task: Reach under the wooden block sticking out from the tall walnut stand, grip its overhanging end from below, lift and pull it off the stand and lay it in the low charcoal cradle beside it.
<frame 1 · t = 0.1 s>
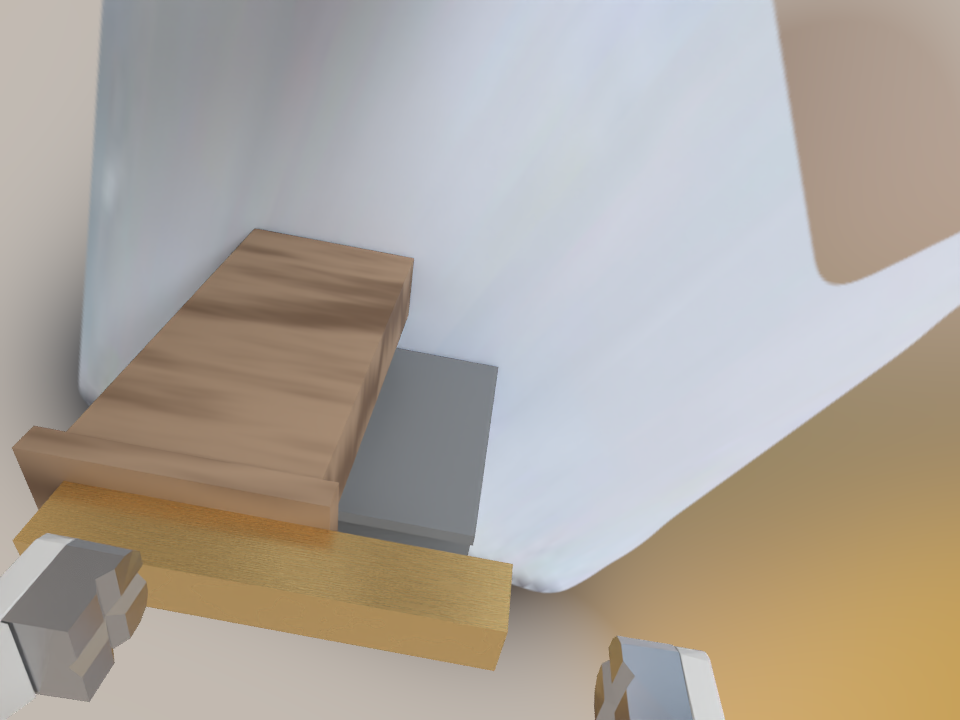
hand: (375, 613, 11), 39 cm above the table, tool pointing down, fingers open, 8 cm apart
cradle: (417, 386, 58), on the table
stand: (334, 273, 52), on the table
wooden block: (289, 544, 31), point 26 cm above the table, touching stand
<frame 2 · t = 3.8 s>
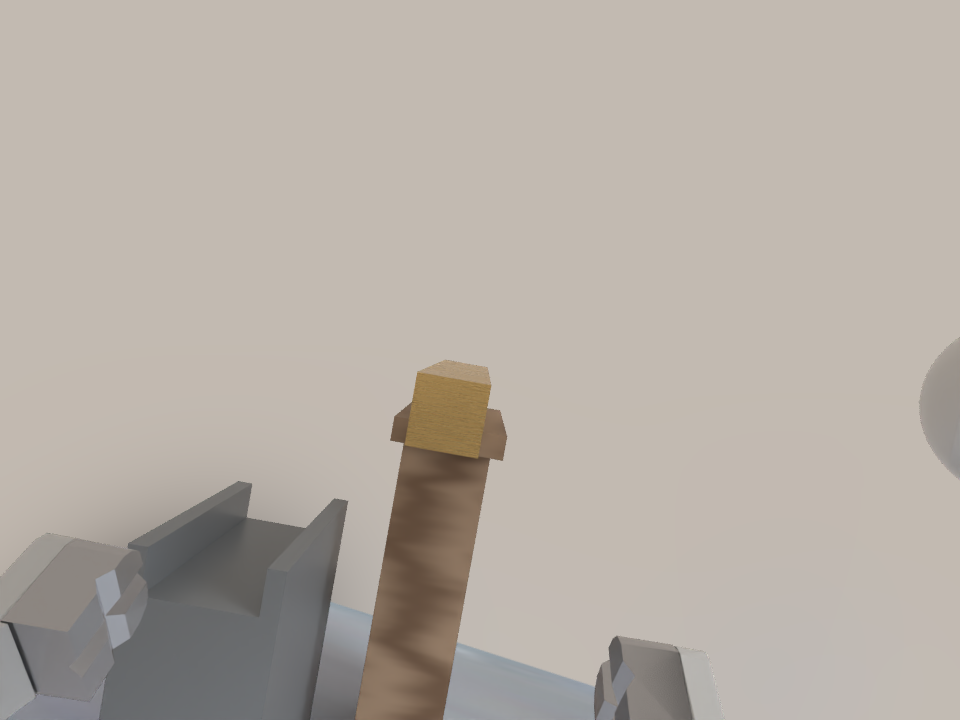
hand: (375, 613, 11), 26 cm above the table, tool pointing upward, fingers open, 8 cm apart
wooden block: (452, 422, 40), point 26 cm above the table, touching stand
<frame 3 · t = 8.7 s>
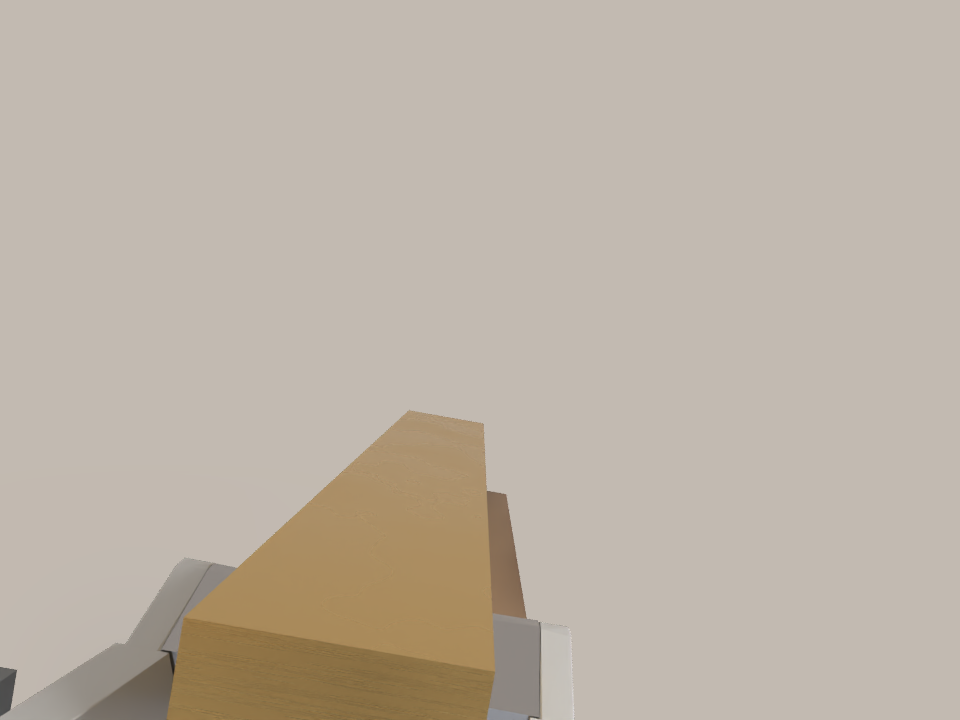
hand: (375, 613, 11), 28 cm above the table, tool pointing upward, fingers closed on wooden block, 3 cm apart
wooden block: (404, 580, 18), point 26 cm above the table, touching gripper, stand
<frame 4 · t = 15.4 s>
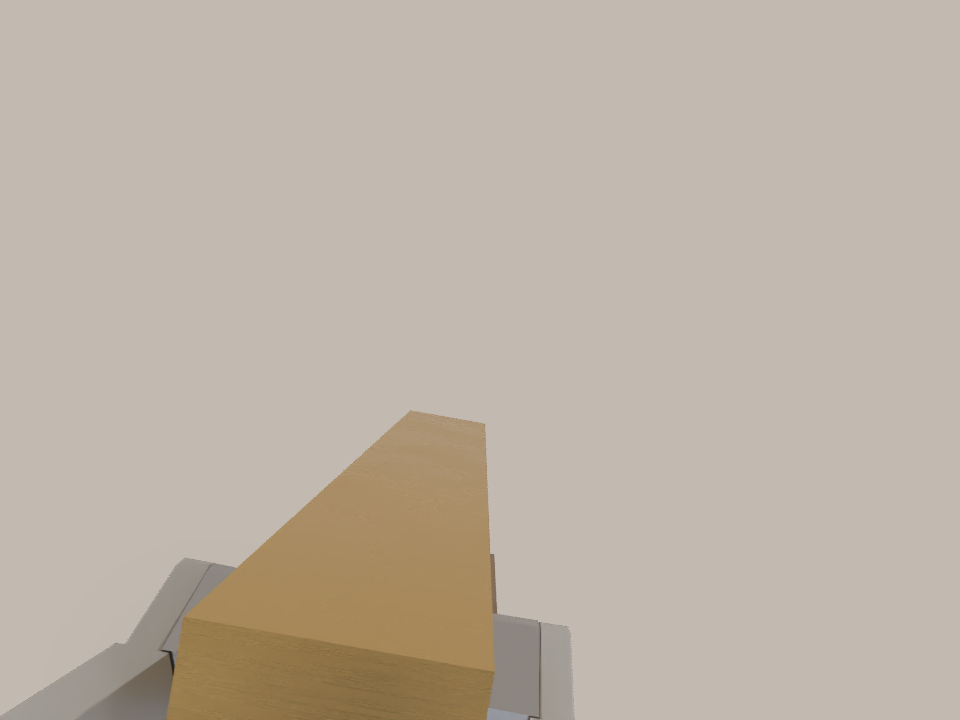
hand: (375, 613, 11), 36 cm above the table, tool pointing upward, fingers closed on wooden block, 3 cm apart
wooden block: (405, 580, 18), point 34 cm above the table, touching gripper
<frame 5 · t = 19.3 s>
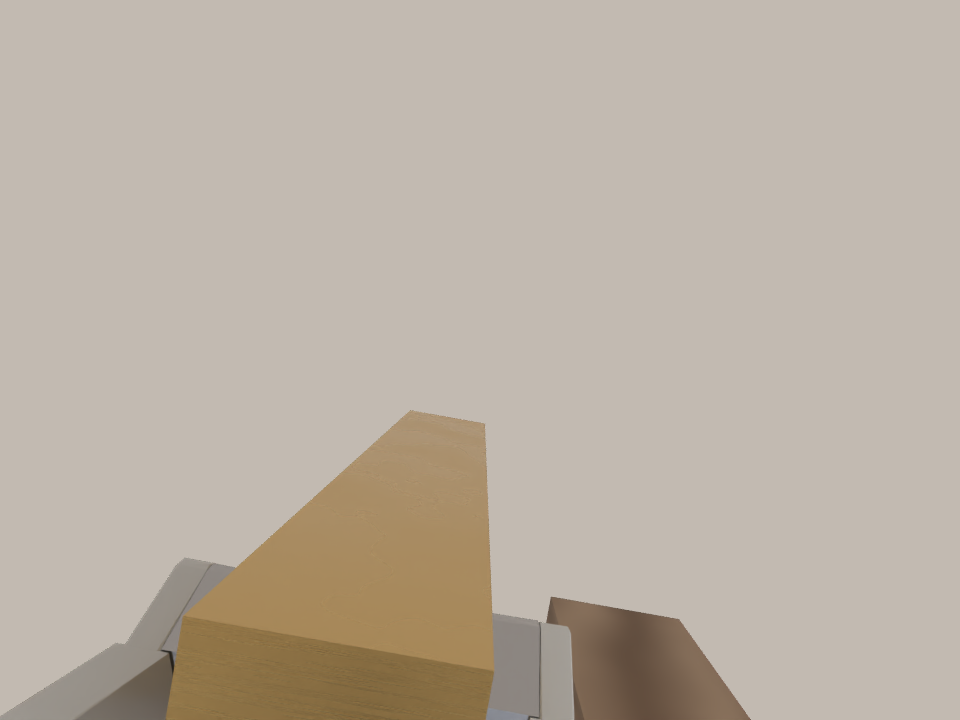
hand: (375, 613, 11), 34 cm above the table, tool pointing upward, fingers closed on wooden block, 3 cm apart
wooden block: (405, 579, 18), point 32 cm above the table, touching gripper
when the fingers open (20 cm above the table, at t = 22.6 s): wooden block drops 2 cm, resting on cradle.
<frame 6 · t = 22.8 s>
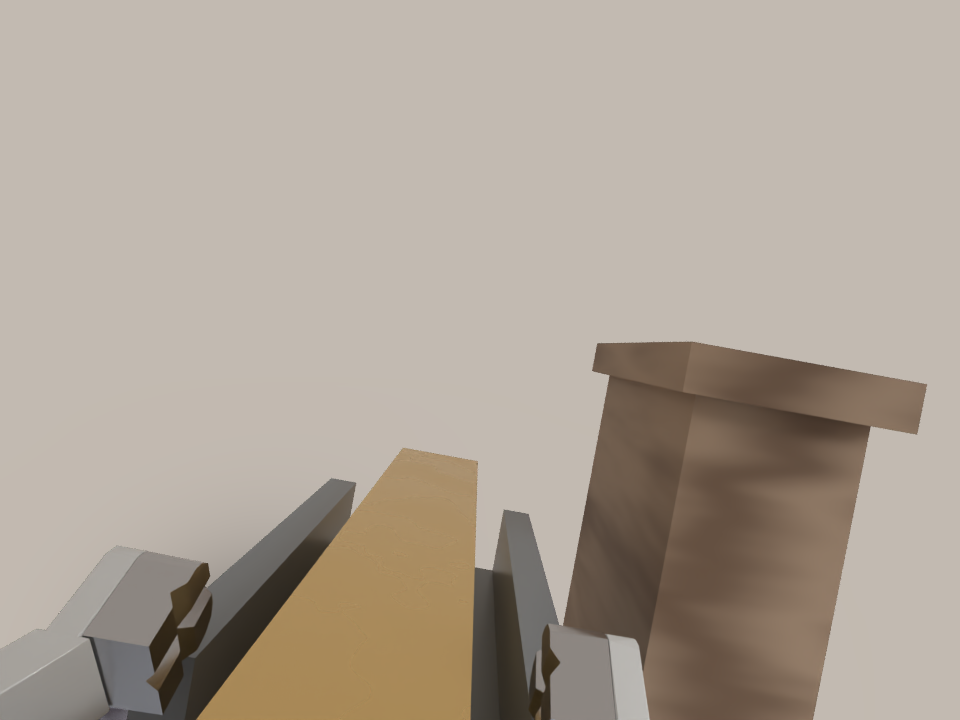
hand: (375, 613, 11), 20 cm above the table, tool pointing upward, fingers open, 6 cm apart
wooden block: (393, 641, 18), point 16 cm above the table, touching cradle
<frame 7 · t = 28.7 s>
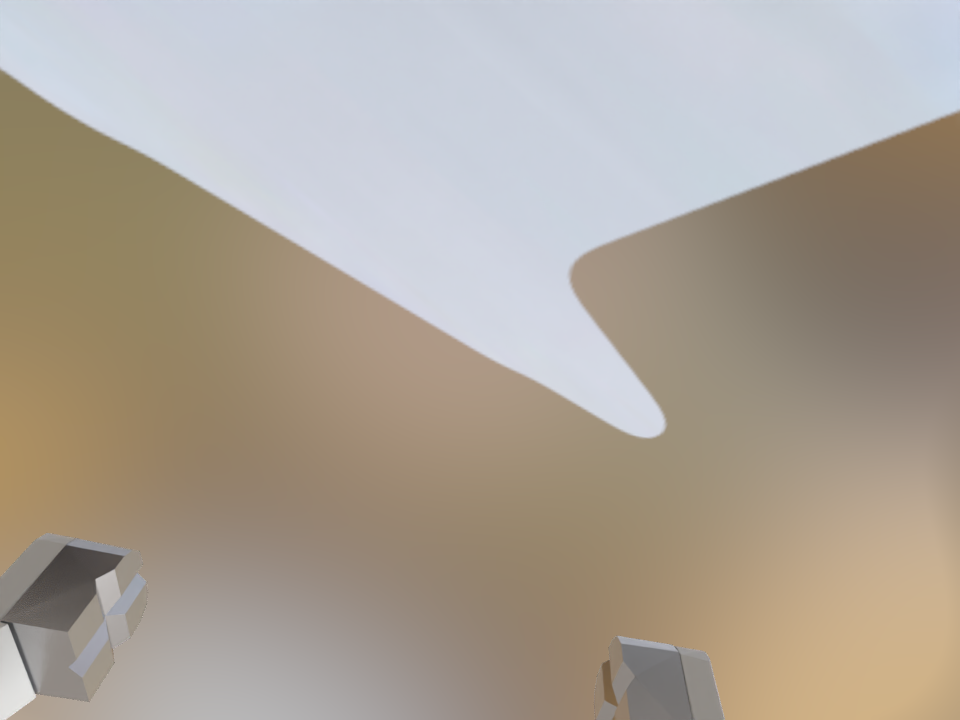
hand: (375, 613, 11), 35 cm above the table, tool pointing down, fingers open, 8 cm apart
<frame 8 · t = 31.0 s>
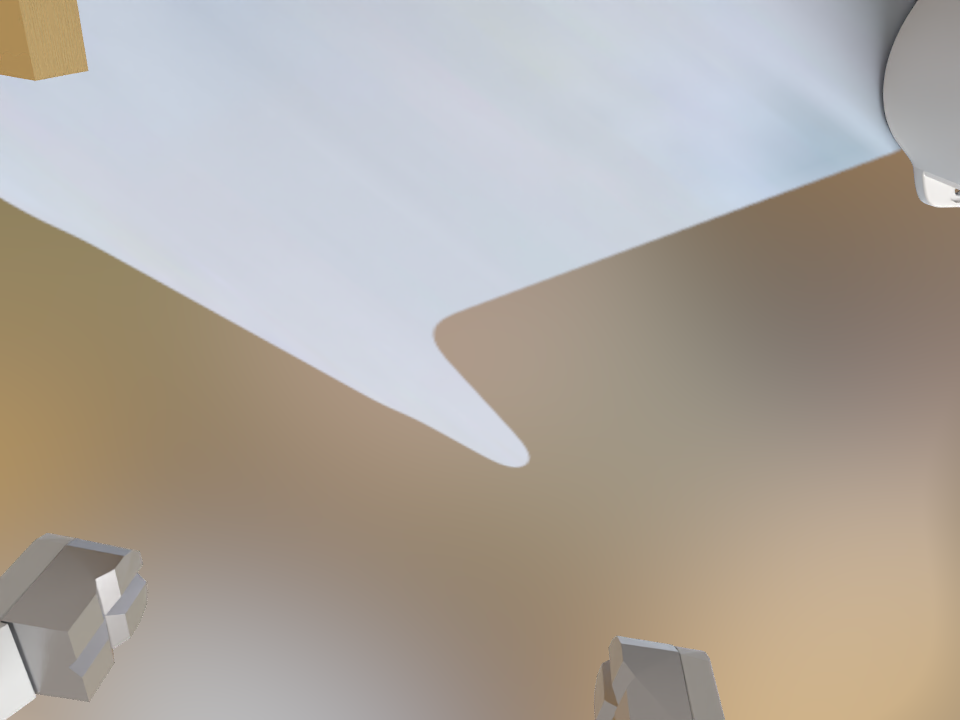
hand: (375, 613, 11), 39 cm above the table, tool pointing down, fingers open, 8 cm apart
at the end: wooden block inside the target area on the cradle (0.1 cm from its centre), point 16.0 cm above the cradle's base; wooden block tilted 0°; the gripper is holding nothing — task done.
